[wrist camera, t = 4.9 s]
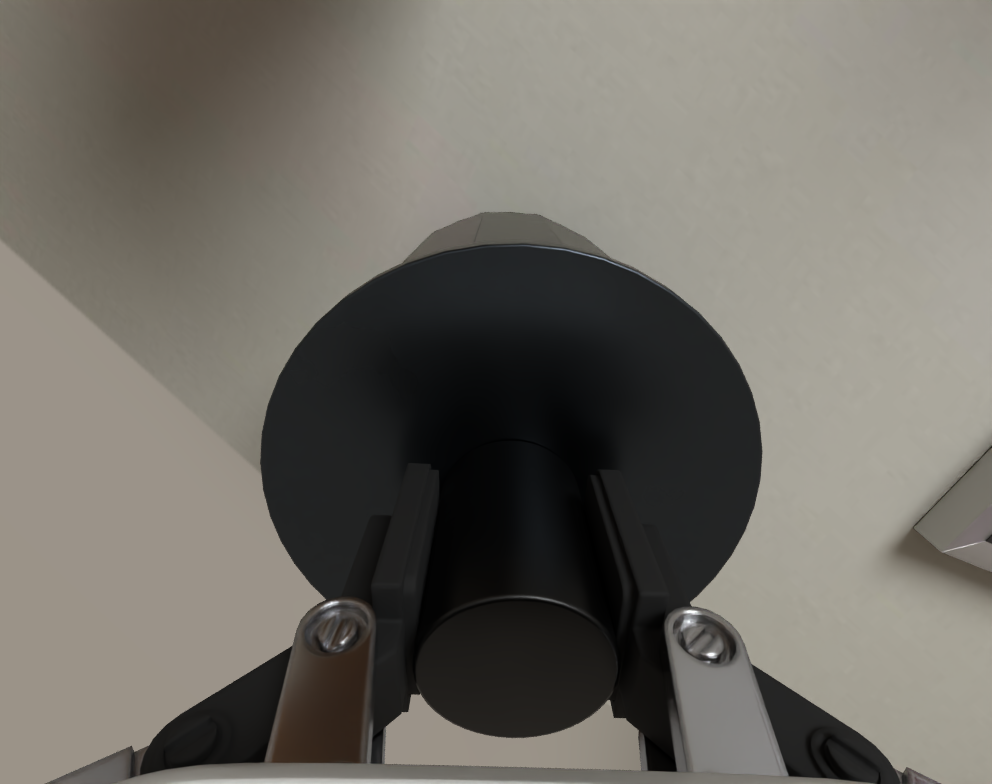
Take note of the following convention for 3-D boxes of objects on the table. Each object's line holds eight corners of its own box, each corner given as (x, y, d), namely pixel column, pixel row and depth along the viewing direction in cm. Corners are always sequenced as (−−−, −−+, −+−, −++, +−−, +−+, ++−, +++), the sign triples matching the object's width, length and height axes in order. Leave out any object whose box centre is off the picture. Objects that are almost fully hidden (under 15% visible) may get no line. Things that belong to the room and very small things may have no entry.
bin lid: (307, 629, 17) (211, 863, 11) (240, 225, 12) (-9, 281, 6) (691, 641, 17) (787, 877, 11) (801, 247, 12) (1086, 322, 6)
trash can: (389, 441, 28) (312, 636, 16) (375, 206, 23) (249, 247, 11) (609, 448, 28) (688, 648, 16) (644, 217, 23) (793, 268, 11)
